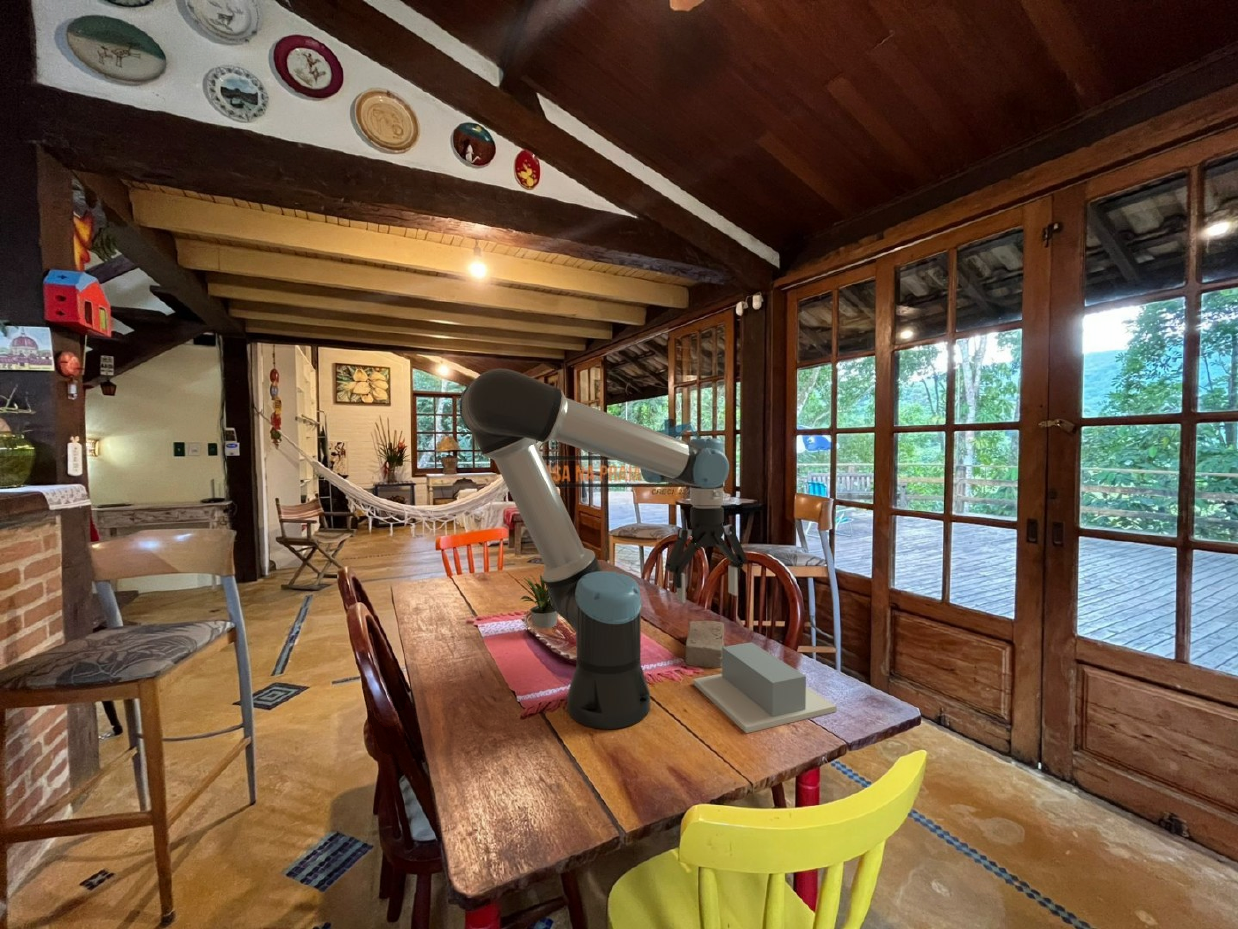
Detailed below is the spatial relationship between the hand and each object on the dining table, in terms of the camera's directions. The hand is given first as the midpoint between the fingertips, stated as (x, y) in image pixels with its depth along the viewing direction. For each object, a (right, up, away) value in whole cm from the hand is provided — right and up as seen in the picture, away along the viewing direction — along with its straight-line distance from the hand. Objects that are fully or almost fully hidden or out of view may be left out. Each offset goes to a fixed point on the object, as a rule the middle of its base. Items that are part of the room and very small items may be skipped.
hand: (707, 597), depth 115 cm
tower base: (+6, -13, -21) cm, 25 cm away
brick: (0, -13, 0) cm, 13 cm away
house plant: (-40, -12, +10) cm, 43 cm away
